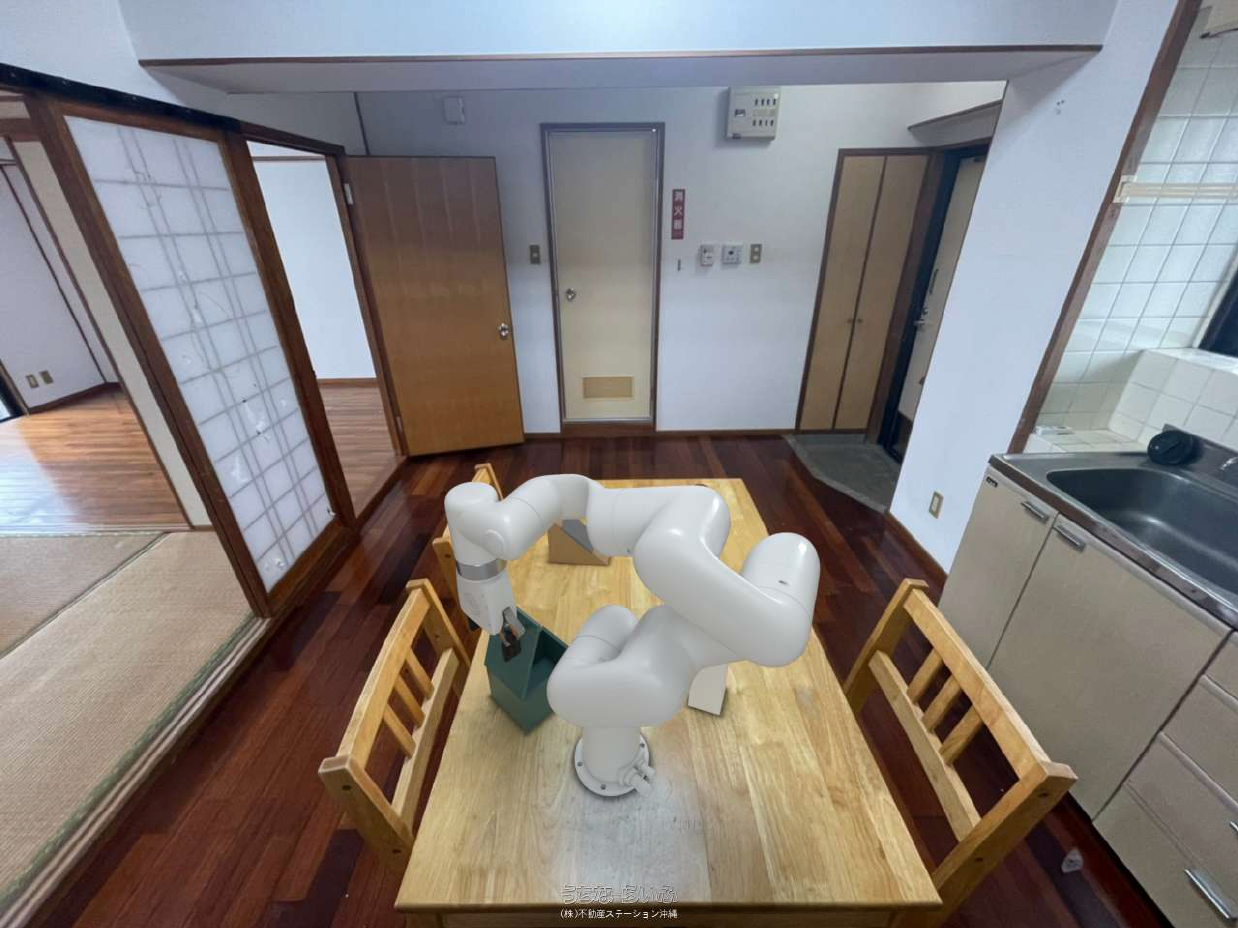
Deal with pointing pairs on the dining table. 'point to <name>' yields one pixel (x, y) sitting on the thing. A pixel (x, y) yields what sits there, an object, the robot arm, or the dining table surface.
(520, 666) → the lid
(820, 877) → the dining table surface
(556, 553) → the sandwich container
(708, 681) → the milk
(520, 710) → the teal open box
